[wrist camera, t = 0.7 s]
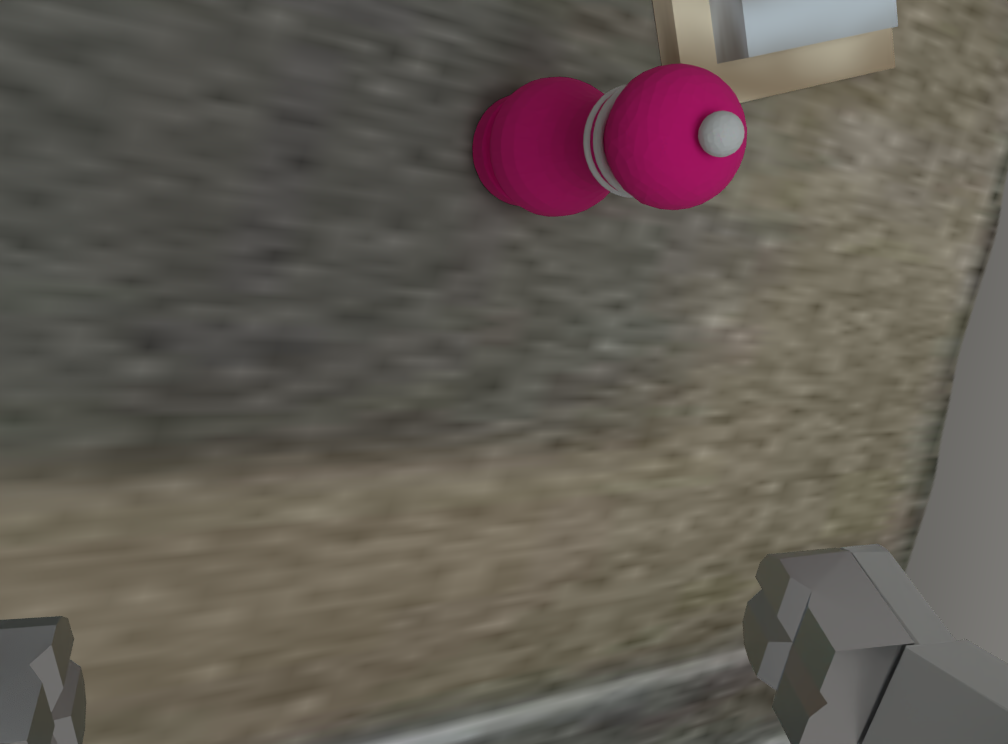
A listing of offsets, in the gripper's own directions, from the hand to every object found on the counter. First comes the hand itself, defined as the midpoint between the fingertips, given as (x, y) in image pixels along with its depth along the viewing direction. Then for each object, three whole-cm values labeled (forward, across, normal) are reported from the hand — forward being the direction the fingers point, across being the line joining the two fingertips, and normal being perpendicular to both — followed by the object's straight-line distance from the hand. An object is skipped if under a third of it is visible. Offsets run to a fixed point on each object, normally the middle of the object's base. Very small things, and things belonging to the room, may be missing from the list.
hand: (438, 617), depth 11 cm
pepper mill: (+44, -11, +10) cm, 46 cm away
